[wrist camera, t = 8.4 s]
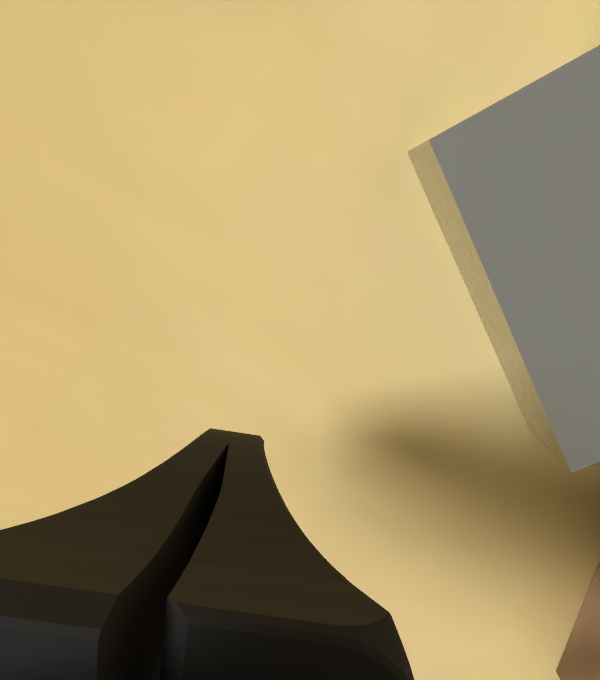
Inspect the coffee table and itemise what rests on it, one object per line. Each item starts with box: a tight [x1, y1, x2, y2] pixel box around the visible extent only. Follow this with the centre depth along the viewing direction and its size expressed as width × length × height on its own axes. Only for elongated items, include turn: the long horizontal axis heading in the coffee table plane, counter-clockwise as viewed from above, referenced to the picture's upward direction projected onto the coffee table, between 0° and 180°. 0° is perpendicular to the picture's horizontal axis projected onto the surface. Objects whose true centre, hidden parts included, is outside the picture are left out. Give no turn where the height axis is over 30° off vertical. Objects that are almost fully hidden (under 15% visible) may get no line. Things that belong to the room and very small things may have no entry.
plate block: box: [407, 45, 600, 473], centre depth 13 cm, size 10×5×3 cm, turn 28°
